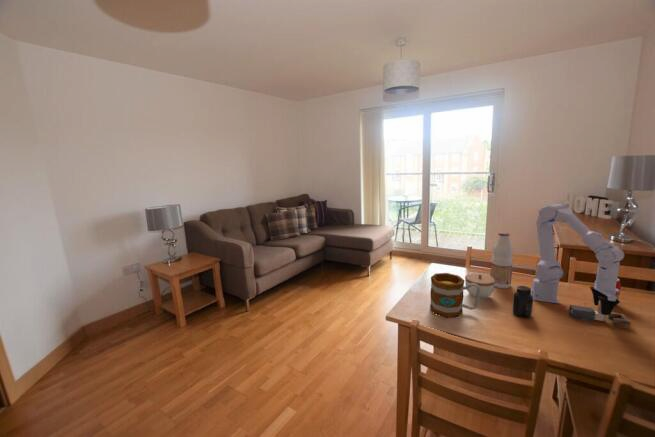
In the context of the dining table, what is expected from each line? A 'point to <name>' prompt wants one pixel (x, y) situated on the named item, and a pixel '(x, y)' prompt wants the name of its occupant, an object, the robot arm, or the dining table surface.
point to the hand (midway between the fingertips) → (601, 309)
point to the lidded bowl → (480, 284)
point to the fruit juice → (502, 261)
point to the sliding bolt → (598, 313)
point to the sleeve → (582, 313)
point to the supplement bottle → (523, 302)
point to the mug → (449, 295)
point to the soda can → (618, 286)
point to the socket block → (619, 320)
